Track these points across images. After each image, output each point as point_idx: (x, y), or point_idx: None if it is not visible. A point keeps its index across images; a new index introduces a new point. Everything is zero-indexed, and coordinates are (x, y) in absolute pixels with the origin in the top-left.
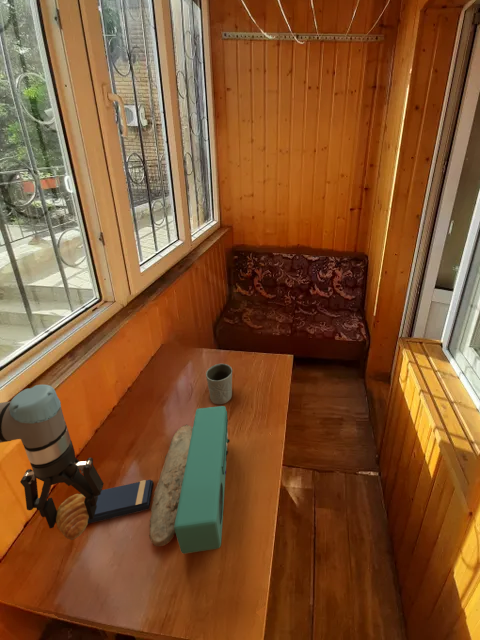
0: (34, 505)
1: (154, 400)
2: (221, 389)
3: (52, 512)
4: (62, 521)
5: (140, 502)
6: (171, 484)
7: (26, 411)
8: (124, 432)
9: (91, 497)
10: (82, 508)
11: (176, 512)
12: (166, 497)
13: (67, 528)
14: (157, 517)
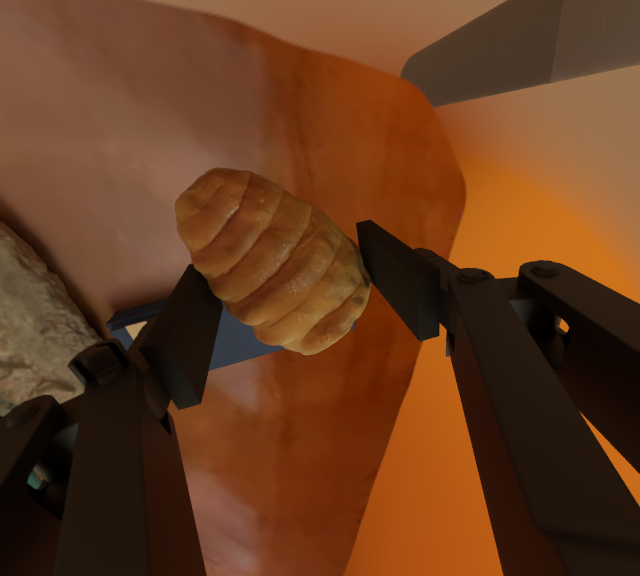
0: (519, 291)
1: (290, 519)
2: None
3: (383, 271)
4: (308, 236)
5: (130, 329)
6: (26, 391)
7: None
8: (323, 455)
9: (99, 376)
10: (236, 299)
11: None
12: (27, 351)
13: (260, 204)
14: (8, 292)
